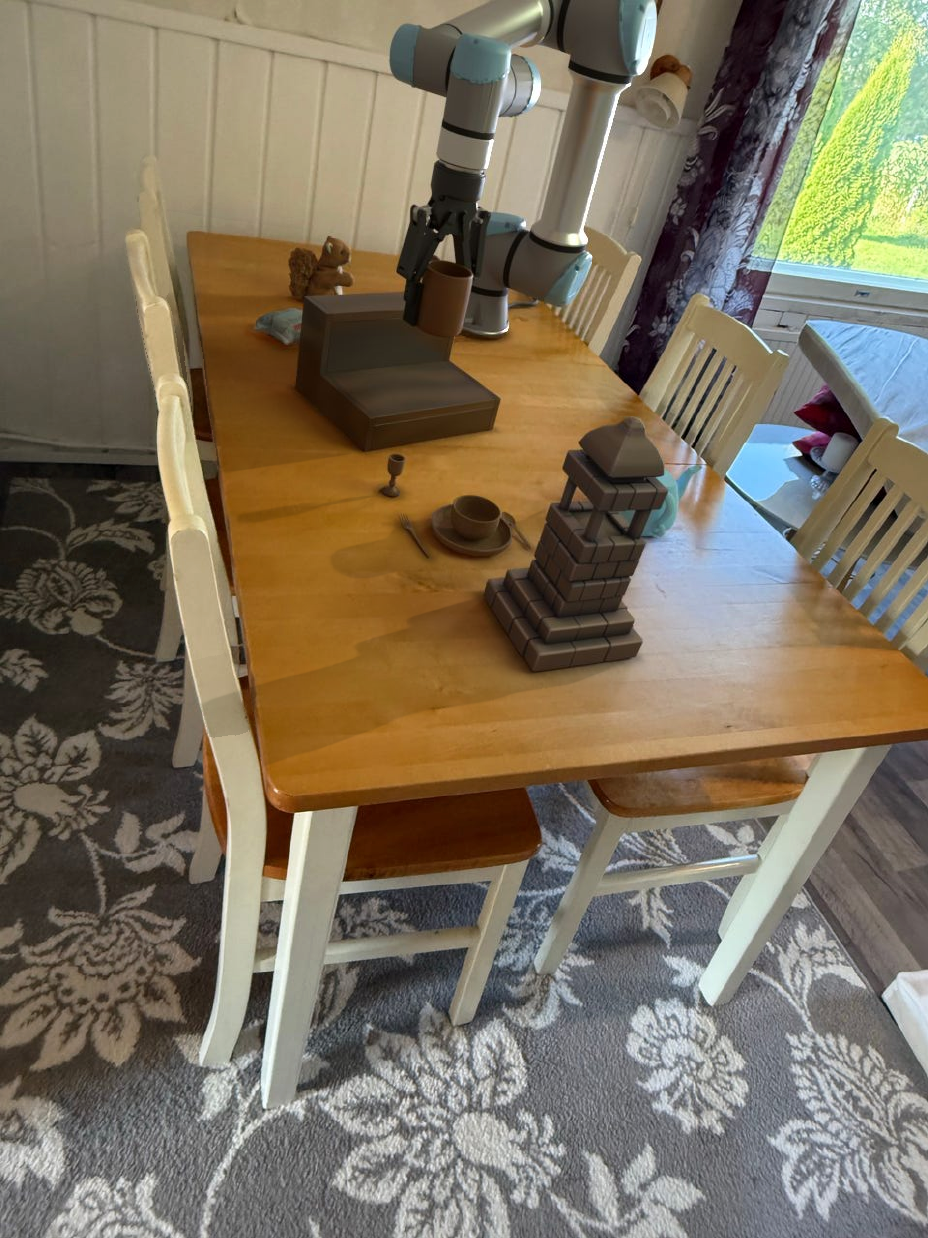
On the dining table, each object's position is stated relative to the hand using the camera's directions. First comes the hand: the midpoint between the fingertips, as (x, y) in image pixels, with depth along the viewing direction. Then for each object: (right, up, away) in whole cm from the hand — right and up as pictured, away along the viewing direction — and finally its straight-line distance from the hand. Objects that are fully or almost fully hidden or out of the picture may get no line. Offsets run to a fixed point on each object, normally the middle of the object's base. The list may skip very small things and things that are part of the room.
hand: (430, 320), depth 136 cm
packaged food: (-27, +5, +26) cm, 38 cm away
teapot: (+32, -32, 0) cm, 46 cm away
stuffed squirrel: (-25, +19, +43) cm, 54 cm away
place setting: (+4, -33, -10) cm, 35 cm away
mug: (0, 0, +1) cm, 1 cm away
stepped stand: (-7, -11, +13) cm, 18 cm away
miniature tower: (+18, -49, -24) cm, 57 cm away
